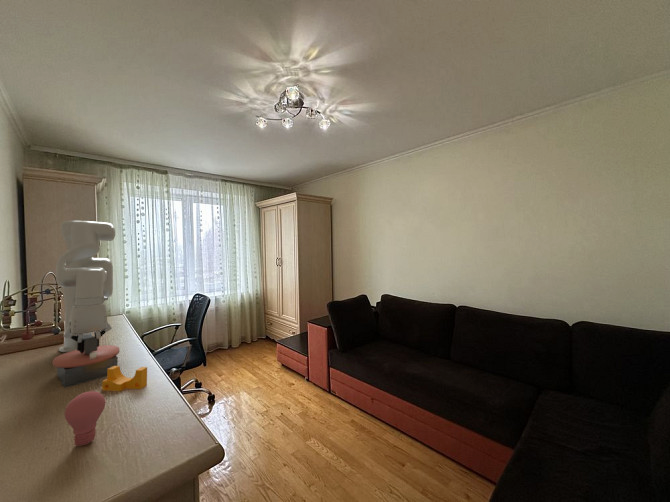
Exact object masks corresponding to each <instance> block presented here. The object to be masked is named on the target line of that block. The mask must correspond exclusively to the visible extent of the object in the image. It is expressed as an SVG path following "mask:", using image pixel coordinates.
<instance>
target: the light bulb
mask: <svg viewBox="0 0 670 502" xmlns="http://www.w3.org/2000/svg"><path fill="white" fill-rule="evenodd" d="M105 407H106V398H105V396H104V394H102V393H100V392H99V391H93V390H91V391H85V392H82V393H80V394H78V395H76V396H75V397H74V398H73V399H72V400H70V402H68V404H67V405H66V407H65V411H64V419H65V421H66V422H67V423H68V425H70V428H72V429H73V434H74V436H73V437H74V439H73V441H74V446H85V445H88V444H90V443H91V442H93V441H94V440H95V438H96V430H97V429H96V428H97V426H98V424H97V421H98V420H99V419H100V417H101V416H102V413H103V411H104V410H105Z"/></svg>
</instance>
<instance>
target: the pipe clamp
mask: <svg viewBox="0 0 670 502" xmlns="http://www.w3.org/2000/svg"><path fill="white" fill-rule="evenodd" d="M147 385H148V367H147V366H141V367H139V368H138V369H135V373H134V376H133V377H127V376H125V375H124V374H123V373H122V371H121V367H120V365H117V366H113V367H111V368H109V369H107V376H106V378H105V379H103V380H102V383H101V390H102V391H104V392H105V391H108V392H122V391H123V390H125V389H126V390H142V389H144V388H145V387H147Z"/></svg>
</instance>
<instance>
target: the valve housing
mask: <svg viewBox="0 0 670 502" xmlns="http://www.w3.org/2000/svg"><path fill="white" fill-rule="evenodd" d="M118 358H119V357H118V355H116V356H114V357H112V358H110V359H108V360H105V361H102V362H98V363H95V364H90V365H86V366H80V367H71V368H59V367H56V369H57V370H56V376H57V378H58V379H59V382H60V383H61V384H62V387H64V388H65V389H66V388H70V387H73V386H76V385H80V384H83V383H86V382H91V381H93V380H97V379H100V378H104V377H107V369H109V368H111V367H113V366H118V362H119V360H118Z"/></svg>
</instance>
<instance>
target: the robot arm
mask: <svg viewBox="0 0 670 502" xmlns="http://www.w3.org/2000/svg"><path fill="white" fill-rule="evenodd" d="M60 233H61V236H62V238H63V241H64V243H65V244H66V247H67V250H66V251H65V252H64V253H62V254H61V255H60V256H59V258H58V260H57V261H56V265H55V282H56V284H57V285H58V286H59V287H61V288H62V296H63V300H64V334H63V336H62V337H64V339H63V340H64V341H63V344H64V345H62V346H60V347H59V348H58V349H59V350H58V351H59V352H62V353H67V352H70V351H74V350H77V351H79V352H80V353H83V352H84V342H83V340H82V339H83V336H84V335H89V334H91V335H92V336H93V334H94V337H95V338H96V339H97V340H98V343H97V347H99V346H100V339H101V338H102V336H104V335H105V334H106V333H108V332H110V331H111V330H112V329H113V328H112V326H111V324H109V323H108V322H109V321H108V312H107V307H106V303H104V302H105V301H108V300H109V298H110V297H112V295H113V293H114V292H113V290H114V279H113V277H114V268H113V262H112V260H110V259H109V258H107V257H94V256H96V255H98V254H99V252H100V242H102V241H103V242H111V241H113V240H115V239H116V238H115V237H116V228H115V226H114V225H113V223H110V222H103V221H90V220H65V221H63V222H61V225H60Z"/></svg>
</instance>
